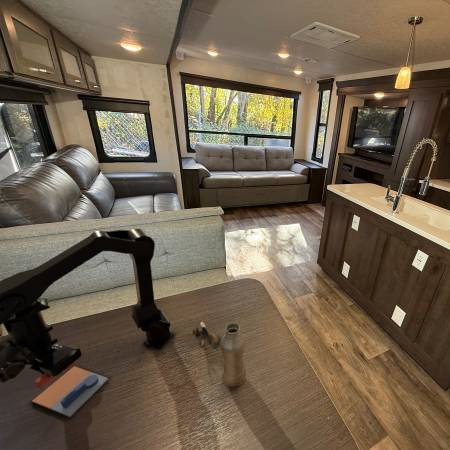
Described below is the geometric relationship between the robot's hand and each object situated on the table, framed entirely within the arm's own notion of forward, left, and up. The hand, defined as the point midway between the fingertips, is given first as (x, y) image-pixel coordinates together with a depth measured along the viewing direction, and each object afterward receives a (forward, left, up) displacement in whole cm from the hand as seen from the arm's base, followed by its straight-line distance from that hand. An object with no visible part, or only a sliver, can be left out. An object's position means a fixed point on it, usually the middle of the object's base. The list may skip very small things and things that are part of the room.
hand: (49, 374), depth 63 cm
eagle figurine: (-27, -26, -7) cm, 38 cm away
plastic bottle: (-42, -17, -7) cm, 46 cm away
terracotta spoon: (0, -1, -1) cm, 2 cm away
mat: (-3, -1, -6) cm, 7 cm away
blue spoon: (-6, -1, -6) cm, 9 cm away
